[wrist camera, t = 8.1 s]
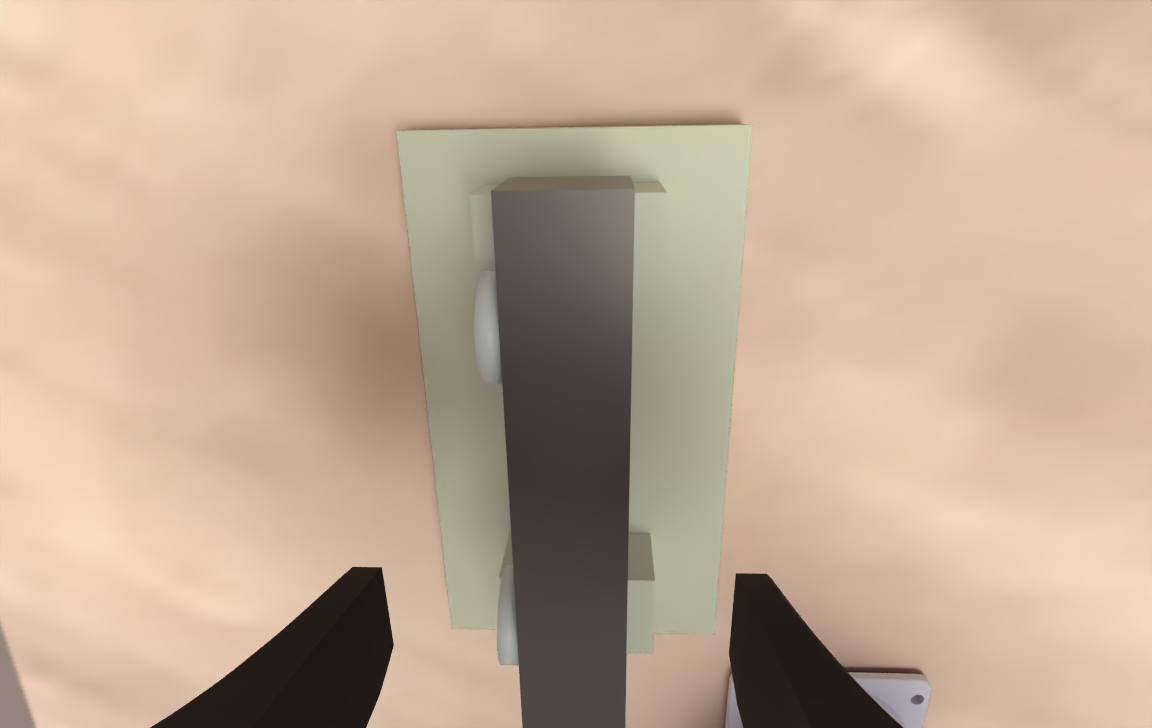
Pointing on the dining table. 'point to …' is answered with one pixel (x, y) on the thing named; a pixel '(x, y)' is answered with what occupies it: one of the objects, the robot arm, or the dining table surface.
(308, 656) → the robot arm
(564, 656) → the bar
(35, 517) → the dining table surface
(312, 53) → the dining table surface
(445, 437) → the stand
